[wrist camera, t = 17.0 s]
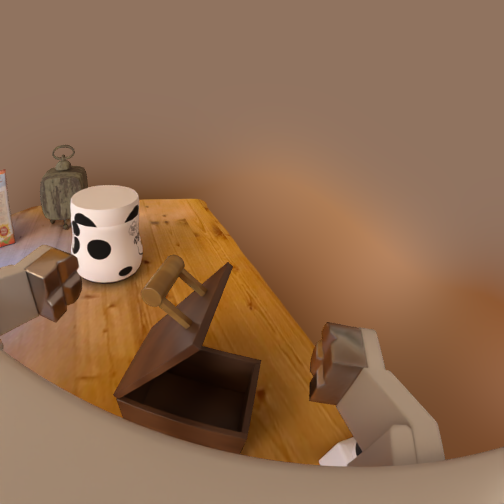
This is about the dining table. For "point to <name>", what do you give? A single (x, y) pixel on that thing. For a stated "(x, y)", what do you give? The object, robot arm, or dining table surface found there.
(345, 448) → the medicine bottle
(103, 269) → the milk container
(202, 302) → the chest lid
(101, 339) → the dining table surface
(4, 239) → the cracker box
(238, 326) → the dining table surface
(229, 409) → the chest
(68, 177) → the tabletop clock
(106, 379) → the dining table surface
